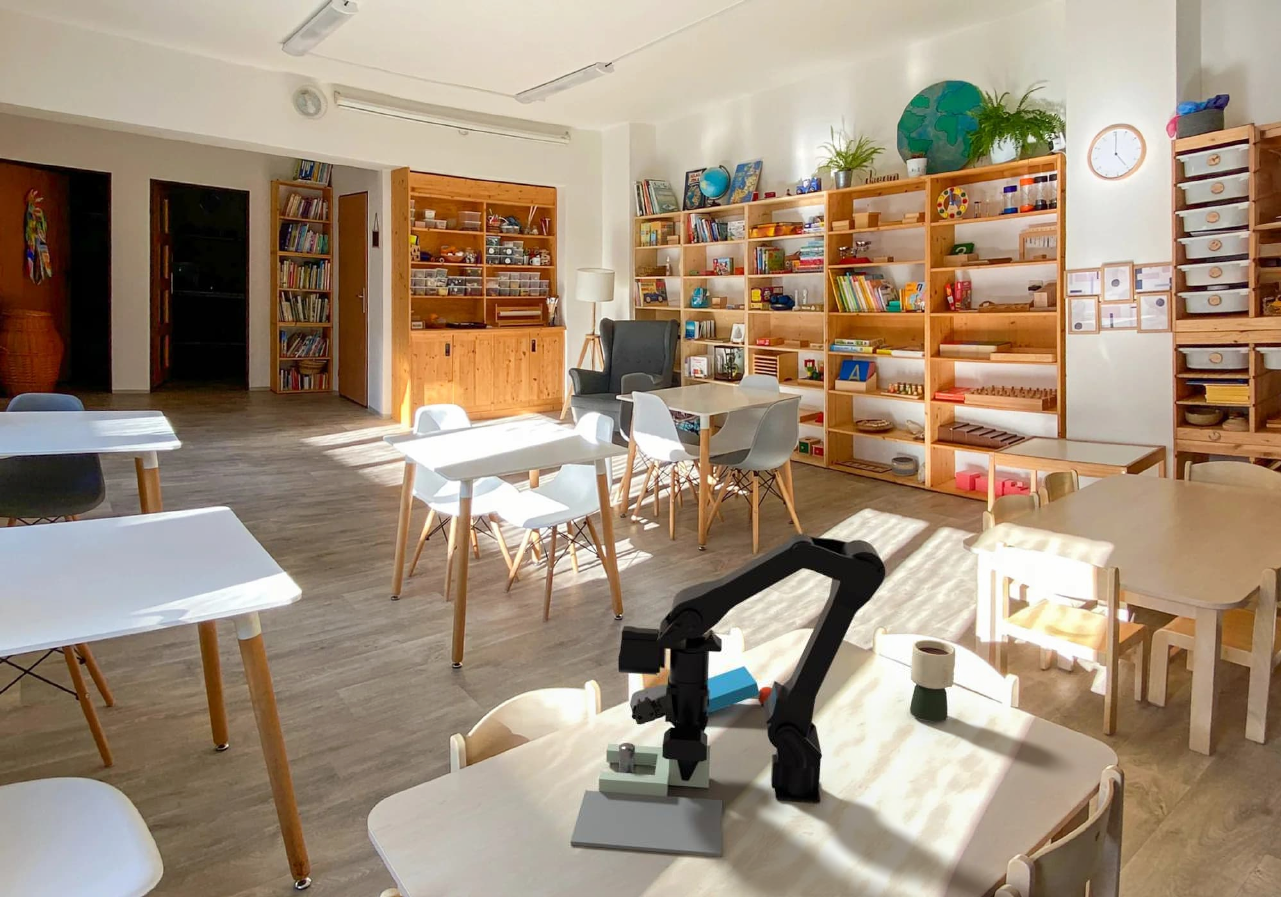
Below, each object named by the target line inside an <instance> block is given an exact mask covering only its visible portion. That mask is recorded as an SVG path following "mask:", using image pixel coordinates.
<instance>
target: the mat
mask: <svg viewBox="0 0 1281 897" xmlns="http://www.w3.org/2000/svg"><path fill="white" fill-rule="evenodd" d="M722 839H723V800H721V799H710V798H709V799H708V798H707V799H706V798H695V797H694V798H693V797H681V796H679V797H678V796H668V795H667V796H656V795H642V794H629V793H616V792H602V791H599V790H588V789H587V790H584V794H583V798H582V801H581V804H580V808H579V811H578V816H577V819H576V821H575V825H574V829H573V833H572V836H571V839H570V845H571V846H585V847H593V848H594V847H596V848H597V847H598V848H607V849H610V848H611V849H620V850H631V851H645V852H646V851H647V852H658V853H670V854H682V855H693V856H694V855H695V856H705V857H706V856H707V857H718V858H721V857H722V854H723V853H722V851H723V848H722V846H723V843H722V841H723V840H722Z"/></svg>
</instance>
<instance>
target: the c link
mask: <svg viewBox="0 0 1281 897" xmlns="http://www.w3.org/2000/svg"><path fill="white" fill-rule="evenodd" d="M621 744H622V743H620V744H617V743H608V744H607V747H606V763H613V764H619V746H620V745H621ZM633 745H634V746H635V765H643V766H655V770H654V774H643V773H641V774H640V773H635V774H630V773H619V772H614V771H613V772H612V771H600V773H599V778H598V791H602V792H616V793H629V794H642V795H656V796H668V791H669V786H679V787H680V786H681V787H682V786H683V787H695V788H707V789H708V788H709V787H710V765H711V764H710V763H711V762H710V761H711V745H707V760H705V761H703V762H701V761H699V763H698V764H697V766H696V768H695V770H694V772H693V774H692V776H691V778H690V780H689V781H683V780H682V779H681V775H680V771H679V766H678V762H677V760H672V759H665V758H664V757H662V751H663V746H648V745H647V746H646V745H636V744H633Z"/></svg>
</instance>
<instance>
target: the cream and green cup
mask: <svg viewBox="0 0 1281 897" xmlns="http://www.w3.org/2000/svg"><path fill="white" fill-rule="evenodd" d="M911 653H912V654H911V655H912V656H911V662H910V663H911V665H910V680H911V681H912V682H913V684H915V685H914V689H913V693H912V698H911V702H910V706H909V711H910V714H911V715H912V716H913V717H915V718H916V719H918V720H922V721H928V722H929V721H930V722H940V721H946V720H947V719H946V718H948V697H947V696H948V695H947V690H946V688H952V687H953V686H954V679H955V678H954V676H955V672H954V670H955V665H956V648H955V647H954V646H953V645H951V644H949V643H946V642H943V641H941V640H934V639H921V640H916V641H915V642H913V644H912V652H911Z"/></svg>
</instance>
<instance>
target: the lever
mask: <svg viewBox="0 0 1281 897" xmlns="http://www.w3.org/2000/svg"><path fill="white" fill-rule="evenodd" d="M708 689H709V690H710V695H709V709H707V714H709V713H712V712H715V711H718V710H721V709H723V708H726V707H728V706H729V707H730V706H732V705H734V704H737V703H740V702H744V701H746V700H748V699H749V700H751V699H752V700H758V702H759V703H760V704H761V705H762V704H763V705H762V706H764V701H765V700H766V699H767V698H768V697H769V695H770V694H771V691H772V687H771V686H764V687H761V689H760V690H759V686H758V682H757V681H756V679H755V678H754V677H753V676H752V674H751V673H750V671H749V670H748V669H747V668H746V666H745V665H743V666H740V667H738V668H734V669H731V670H729V671H726V672H724V673H721V674H718V675H715V676H712V677H708Z"/></svg>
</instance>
